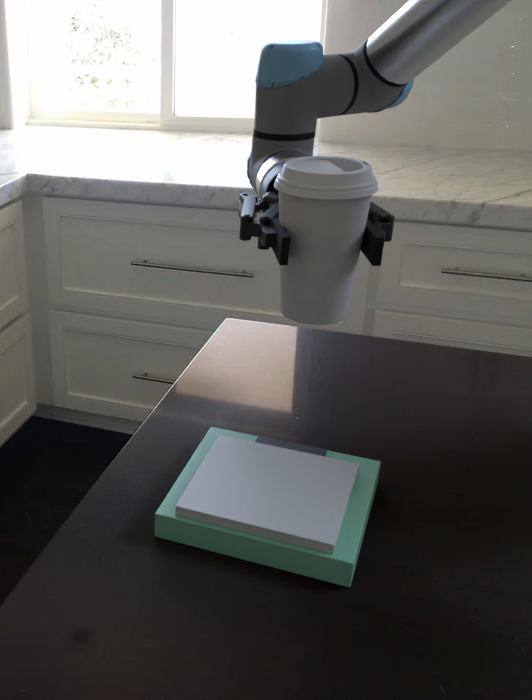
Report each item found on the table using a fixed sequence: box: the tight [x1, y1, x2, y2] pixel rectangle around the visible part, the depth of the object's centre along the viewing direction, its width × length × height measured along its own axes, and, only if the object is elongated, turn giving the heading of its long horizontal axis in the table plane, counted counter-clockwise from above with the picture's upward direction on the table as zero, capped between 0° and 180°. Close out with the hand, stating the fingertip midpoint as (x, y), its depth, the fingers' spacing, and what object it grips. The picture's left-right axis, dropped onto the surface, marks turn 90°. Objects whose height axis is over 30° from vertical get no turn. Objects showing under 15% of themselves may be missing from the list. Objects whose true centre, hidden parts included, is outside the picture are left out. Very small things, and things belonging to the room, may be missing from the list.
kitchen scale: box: [153, 426, 382, 588], centre depth 71 cm, size 15×15×3 cm
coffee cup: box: [274, 155, 380, 326], centre depth 84 cm, size 10×10×15 cm
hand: (331, 251), depth 80 cm, fingers closed on coffee cup, 8 cm apart
